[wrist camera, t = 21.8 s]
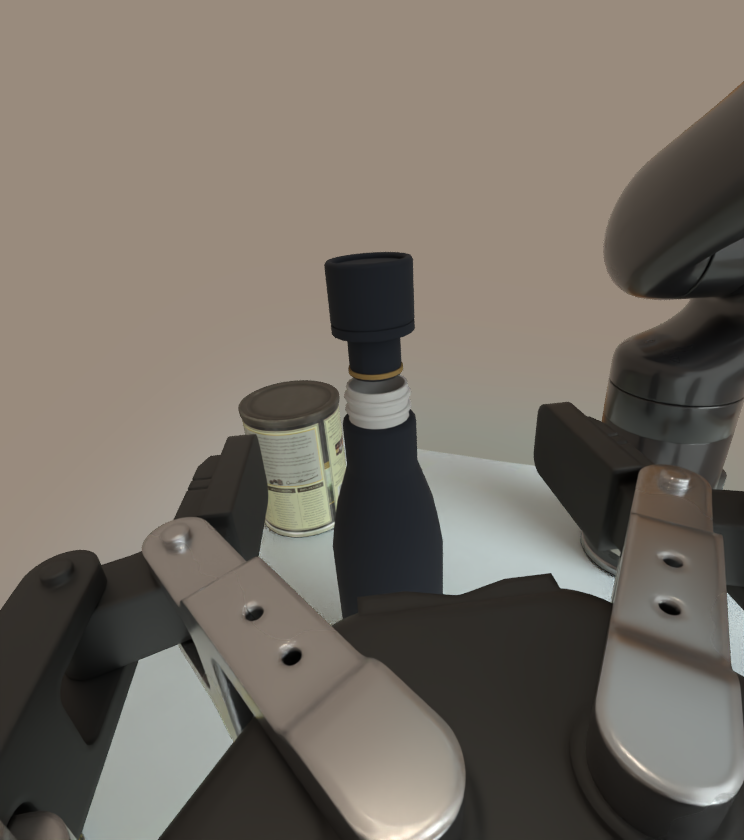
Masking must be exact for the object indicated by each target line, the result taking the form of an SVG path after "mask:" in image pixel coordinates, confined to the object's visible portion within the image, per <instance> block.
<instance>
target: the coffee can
mask: <svg viewBox="0 0 744 840" xmlns="http://www.w3.org/2000/svg"><path fill="white" fill-rule="evenodd" d="M339 412H340V411H339V392H338V390H337V389H336V388H335V387H333V386H332V385H330V384H327V383H323V382H318V381H308V380H305V381H304V380H302V381H289V382H282V383H277V384H273V385H270V386H266V387H264V388H261V389H259V390H256V391H254V392H252V393H251V394H249V395H248V396H246V397H245V398H244V399H243V400H242V401H241V402H240V404H239V413H240V416H241V418H242V421H243V426H244V430H245V435H249V434H256V435H257V437H258V440H259V445H260V449H261V454H262V459H263V464H264V469H265V474H266V478H267V484H268V506H267V512H266V517H265V523H266V525H267V526H268V527H269V528H270V529H271V530H272V531H274V532H276V533H278V534H280V535H285V536H289V537H306V536H312V535H317V534H319V533H322V532H325V531H328V530H330V529H332V528H333V527H334V524H335V516H336V508H337V500H338V496H339V492H340V489H341V485H342V481H343V477H344V474H345V470H346V463H345V454H344V445H343V437H342V428H341V420H340V413H339Z"/></svg>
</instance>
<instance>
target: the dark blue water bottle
mask: <svg viewBox="0 0 744 840" xmlns="http://www.w3.org/2000/svg"><path fill="white" fill-rule="evenodd" d="M324 266H325V275H326V284H327V293H328V302H329V312H330V321H331V330H332V335H333V336H334V337H335V338H338V339H340V340H343V341H347V342H348V353H349V363H350V365H349V374H350V375H351V376H352V377H353V378H352V379H350V380H349V381H348V382H347V386H346V387H347V390H346V391H345V394H344V398H345V399H346V401H347V402H348V403H347V404H346V409H345V410H346V412H347V415H346V416H345V417H344V420H343V431H344V440H345V449H346V458H347V467H346V470H345V474H344V477H343V481H342V485H341V489H340V492H339V496H338V500H337V508H336V516H335V524H334V537H333V551H334V558H335V565H336V573H337V580H338V587H339V595H340V602H341V609H342V617H343V619H345V618H347V617H349V616H351V615H354V614H357V613H358V604H357V597H363V596H371V595H379V594H387V593H395V592H403V591H408V592H421V593H433V594H443V540H442V535H441V530H440V525H439V520H438V515H437V511H436V507H435V503H434V499H433V496H432V493H431V491H430V488H429V486H428V483H427V481H426V479H425V476H424V474H423V472H422V469H421V467H420V465H419V462H418V460H417V436H416V418H415V414H414V413H413V412H412V410H411V409H410V408H411V401H410V399H409V396H410V394H411V390H410V387H409V386H408V385H407V379H406V378H405V377H404V376H402V375H399V374H400V373H401V372H402V370H403V363H402V362H401V345H400V337H404V336H406V335H408V334H410V333H411V332H412V331H413V330H414V328H415V325H414V288H413V258H412V257H411V255H410V254H406V253H399V252H375V253H362V254H352V255H346V256H340V257H336V258H332V259H329V260H327V261H326V263H325V265H324Z"/></svg>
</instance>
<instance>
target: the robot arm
mask: <svg viewBox="0 0 744 840" xmlns="http://www.w3.org/2000/svg"><path fill="white" fill-rule="evenodd" d="M603 247H604V249H603V253H604V262H605V265H606V269H607V272H608V274H609V276H610V277H611V279H612V281H613V282H614V283H615V284H616V285H617V287H618V288H620V289H621V290H623V291H624V292H626V293H627V294H630V295H632V296H635V297H638V298H644V299H654V300H670V299H690V298H691V299H690V301H689V302H688V304H687V305H686V306H685V307H684V308H683V309H682V310H681V311H680V312H679V313H677V314H676V315H675V316H673V317H672V318H671V319H669V320H668V321H666V322H664V323H662V324H660V325H658V326H656V327H654V328H652V329H649V330H647V331H645V332H642V333H639V334H637V335H634V336H632V337H629V338H628V339H626V340H624V341H623V342H622V343H621V344H619V345H618V347H617V348H616V350H615V352H614V355H613V359H612V363H611V370H610V376H609V381H608V387H607V393H606V398H605V404H604V411H603V417H602V422H601V421H599V420H596V419H594V418H591V417H587V416H585V415H584V414H583V413H582V412H581V411H580V410H579V409H577V408H576V407H575V406H574V405H573V404H572V403H570V402H562V403H553V404H543V405H541V406H540V408H539V410H538V417H537V426H536V436H535V445H534V462H535V466H536V469H537V471H538V473H539V475H540V476H541V477H542V479H543V480H544V481H545V483H546V484H547V485H548V487H549V488H550V489H551V491H552V492H553V493H554V495H555V496H556V497H557V498H558V500H559V501H560V502H561V504H562V505H563V506H564V508H565V509H566V510H567V512H568V513H569V514H570V516H571V517H572V518H573V520H574V521H575V522H576V523H577V525H578V526H579V527H580V529H581V530H582V533H581V543H582V546H583V548H584V550H585V552H586V553H587V555H588V556H589V557H590V558H591V559H592V560H593V561H594V562H595V563H596V564H597V565H599V566H600V567H601V568H603V569H604V570H606V571H607V572H609V573H611V574H613V575H615V576H616V577H615V582H614V586H613V591H612V596H611V601H610V602H608V601H606V600H604V599H602V598H599V597H596V596H593V595H591V594H587V593H583V592H579V591H575V590H569V589H562V588H560V587H559V586H558V584H557V582H556V581H555V579H554V577H553V576H552V574H551V573H549V574H541V575H533V576H525V577H517V578H509V579H503V580H500V581H497V582H495V583H492V584H489V585H486V586H484V587H481V588H478V589H475V590H473V591H470V592H467V593H464V594H461V595H445V594H433V593H421V592H408V591H403V592H395V593H387V594H379V595H371V596H363V597H357V604H358V613H357V614H354V615H351V616H349V617H347V618H345V619H343V620H341V621H339V622H337V623H336V624H334V625H332V626H331V625H330V624H329V623H328V622H327V621H326V620H325V619H324V618H322V617H321V616H320V615H319V614H318V613H317V612H316V611H315V610H314V609H313V608H312V607H311V606H310V605H309V604H308V603H307V602H306V601H305V600H304V599H303V598H302V597H301V596H300V595H299V594H298V593H297V592H296V591H295V590H293V589H292V588H291V587H290V586H289V585H288V584H287V583H286V582H285V581H284V580H283V579H282V578H281V577H280V576H279V575H278V574H277V573H276V572H275V571H274V570H273V569H272V568H271V567H270V566H269V565H268V564H267V563H266V562H264V561H263V560H262V559H261V558H260V557H258V556H259V550H260V545H261V539H262V534H263V528H264V523H265V517H266V512H267V506H268V484H267V478H266V474H265V469H264V464H263V459H262V454H261V449H260V445H259V440H258V437H257V435H256V434H249V435H239V436H230V437H228V438H227V440H226V443H225V445H224V448H223V450H222V453H221V455H215V456H210V457H209V458H207V459H206V460H205V461H204V462H203V463H202V464H201V465H200V466H198V468H197V470H196V472H195V474H194V477H193V481H191V483H190V485H189V487H188V491H187V492H186V494H185V496H184V498H183V501H182V503H181V505H180V507H179V509H178V511H177V513H176V516H175V518H174V520H173V521H170V522H168V523H165V524H163V525H161V526H160V527H158V528H157V529H155V530H154V531H153V532H151V533H150V534H149V535H148V536H147V538H146V539H145V541H144V542H143V545H142V551H141V552H139V553H136V554H134V555H131V556H128V557H125V558H122V559H119V560H116V561H113V562H110V563H107V564H104V565H101V564H100V561H99V559H98V557H97V555H96V554H94V553H93V552H90V551H87V550H75V551H70V552H65V553H62V554H59V555H56V556H54V557H52V558H50V559H48V560H46V561H44V562H42V563H41V564H39V565H38V566H36V567H35V568H34V569H32V570H31V571H30V572H29V573H28V574H27V575H25V577H24V578H23V579H22V580H21V582H20V583H19V584H18V586H17V587H16V589H15V590H14V591H13V593H12V594H11V596H10V597H9V599H8V600H7V601H6V603H5V604H4V606H3V607H2V609H1V610H0V840H79V839H80V836H81V833H82V829H83V826H84V823H85V820H86V817H87V814H88V811H89V808H90V805H91V802H92V799H93V796H94V793H95V790H96V787H97V784H98V781H99V778H100V775H101V772H102V769H103V766H104V763H105V760H106V757H107V754H108V751H109V748H110V745H111V742H112V739H113V736H114V733H115V730H116V727H117V724H118V721H119V718H120V715H121V712H122V709H123V706H124V703H125V700H126V697H127V694H128V691H129V688H130V685H131V682H132V679H133V676H134V672H135V669H136V666H137V663H138V660H140V659H142V658H145V657H147V656H150V655H152V654H155V653H157V652H160V651H162V650H165V649H167V648H170V647H172V646H175V645H177V644H178V646H179V648H180V650H181V651H182V653H183V654H184V656H185V658H186V659H187V661H188V662H189V664H190V666H191V667H192V669H193V670H194V672H195V674H196V675H197V677H198V678H199V680H200V682H201V683H202V685H203V687H204V688H205V690H206V691H207V693H208V695H209V696H210V698H211V699H212V701H213V703H214V704H215V706H216V708H217V710H218V712H219V714H220V716H221V718H222V720H223V723H224V725H225V727H226V729H227V731H228V733H229V734H230V736H231V738H232V740H233V744H232V745H231V746H230V747H229V749H228V750H227V751H226V753H225V754H224V755H223V756H222V758H221V759H220V760H219V762H218V763H217V764H216V765H215V767H214V768H213V769H212V771H211V772H210V773H209V774H208V776H207V777H206V778H205V780H204V781H203V782H202V783H201V785H200V786H199V787H198V789H197V790H196V791H195V792H194V794H193V795H192V796H191V798H190V799H189V800H188V801H187V803H186V804H185V805H184V807H183V808H182V809H181V810H180V812H179V813H178V814H177V816H176V817H175V818H174V819H173V821H172V822H171V823H170V825H169V826H168V827H167V828H166V830H165V831H164V832H163V834H162V835H161V836H160V837H159V839H158V840H744V677H743V676H742V675H740V674H738V673H736V672H734V671H733V670H732V666H731V656H730V640H729V623H728V607H727V593H728V594H729V595H730V596H731V597H732V598H733V599H734V600H735V601H736V603H737V604H738V605H739V606H740V607H741V608H742V609H743V610H744V492H743V491H730V490H722V489H723V486H724V483H725V479H726V476H727V475H726V472H725V471H724V470H723V466H724V463H725V460H726V457H727V453H728V450H729V447H730V444H731V441H732V438H733V435H734V431H735V428H736V424H737V421H738V418H739V415H740V412H741V408H742V406H743V402H744V82H742V83H741V84H740V85H739V86H738V87H737V88H736V89H735V90H733V91H732V92H731V93H730V94H729V95H728V96H727V97H725V98H724V99H723V100H722V101H721V102H720V103H718V104H717V105H716V106H715V107H714V108H712V109H711V110H710V111H709V112H708V113H706V114H705V115H704V116H703V117H702V118H701V119H699V120H698V121H697V122H695V123H694V124H693V125H692V126H691V127H689V128H688V129H687V130H686V131H684V132H683V133H682V134H681V135H680V136H679V137H677V138H676V139H675V140H673V141H672V142H671V143H670V144H669V145H667V146H666V147H665V148H664V149H662V150H661V151H660V152H659V153H657V155H655V156H654V157H653V158H652V159H651V160H650V161H648V162H647V163H646V164H645V165H644V166H643V167H642V168H641V169H640V170H639V171H638V172H637V174H635V176H634V177H633V178H632V180H631V181H630V182H629V184H628V185H627V186H626V188H625V189H624V191H623V192H622V194H621V196H620V197H619V199H618V201H617V203H616V205H615V207H614V209H613V211H612V214H611V216H610V219H609V221H608V225H607V229H606V233H605V238H604V246H603Z"/></svg>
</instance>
